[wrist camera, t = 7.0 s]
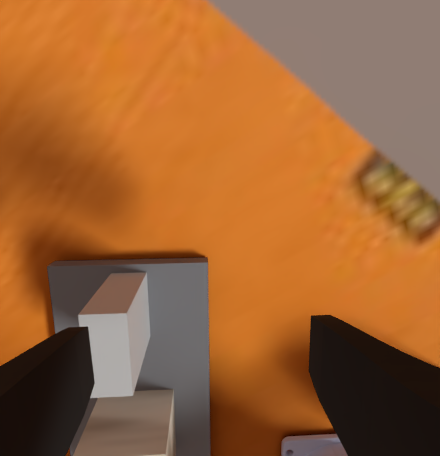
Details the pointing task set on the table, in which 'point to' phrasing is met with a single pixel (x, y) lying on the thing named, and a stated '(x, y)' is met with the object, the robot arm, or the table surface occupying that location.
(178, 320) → the gray plate with post
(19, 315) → the table surface
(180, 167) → the table surface
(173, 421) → the birch block
